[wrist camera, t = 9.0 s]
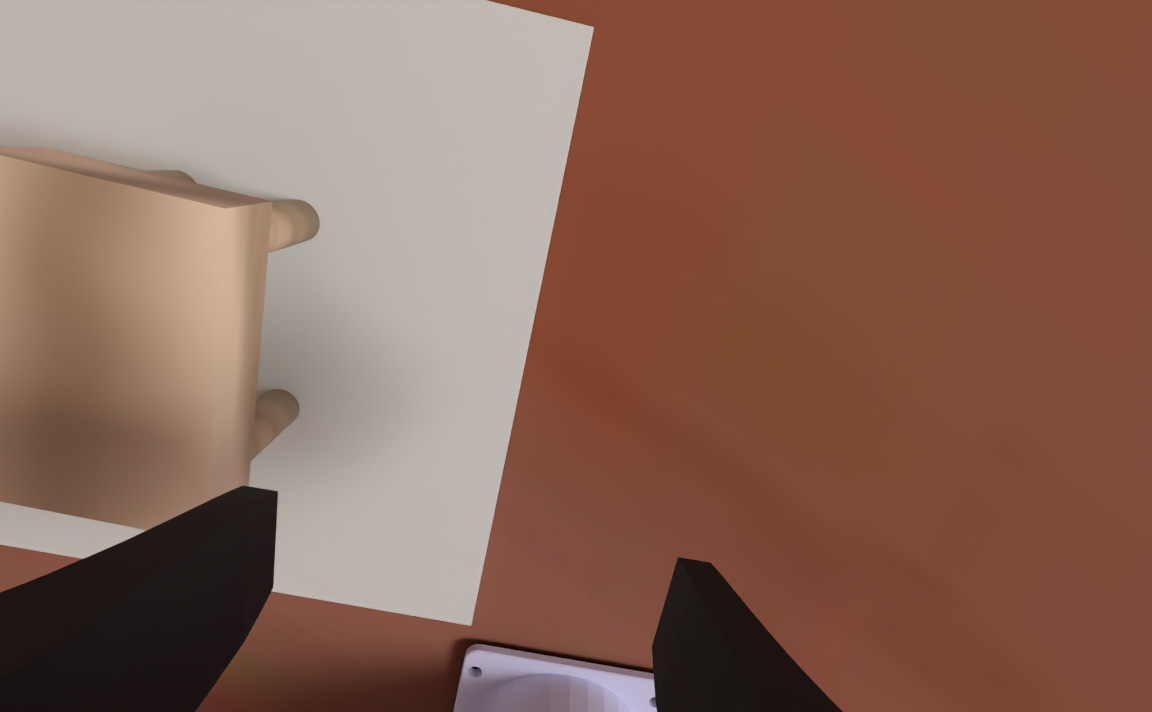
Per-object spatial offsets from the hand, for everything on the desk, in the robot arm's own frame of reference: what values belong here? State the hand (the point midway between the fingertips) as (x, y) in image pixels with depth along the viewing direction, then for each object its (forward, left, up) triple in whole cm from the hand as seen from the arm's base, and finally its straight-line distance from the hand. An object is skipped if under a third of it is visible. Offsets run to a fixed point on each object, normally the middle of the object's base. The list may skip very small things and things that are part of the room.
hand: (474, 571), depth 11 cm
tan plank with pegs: (+1, +9, -9) cm, 13 cm away
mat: (+1, +9, -9) cm, 13 cm away
